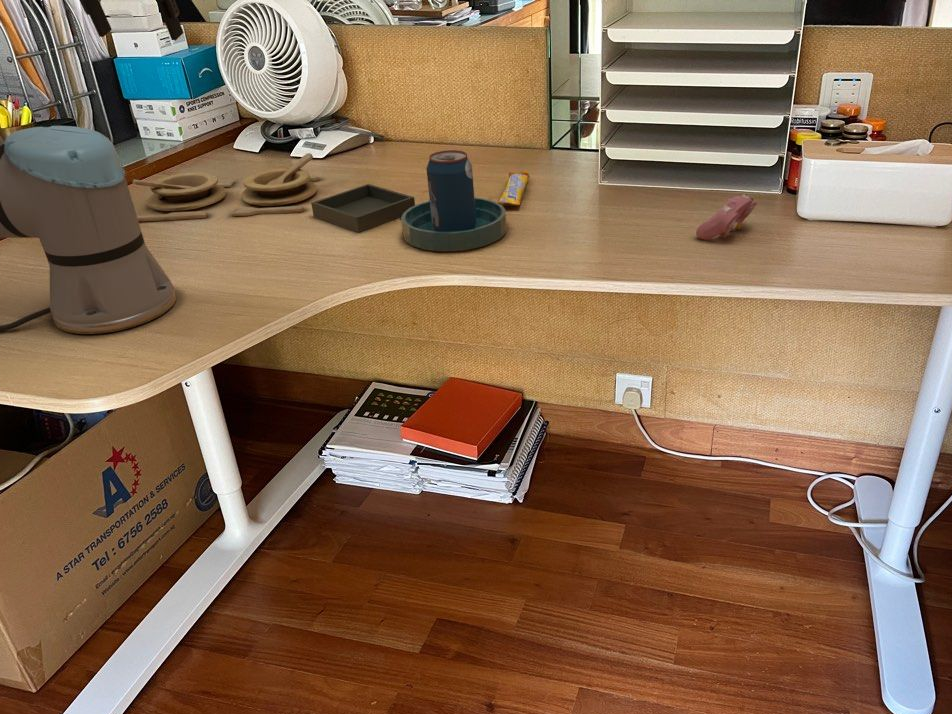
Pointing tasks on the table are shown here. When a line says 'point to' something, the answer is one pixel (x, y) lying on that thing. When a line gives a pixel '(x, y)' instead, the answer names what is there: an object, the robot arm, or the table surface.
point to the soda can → (451, 191)
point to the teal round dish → (425, 236)
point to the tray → (362, 207)
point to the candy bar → (514, 189)
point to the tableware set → (208, 189)
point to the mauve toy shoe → (727, 218)
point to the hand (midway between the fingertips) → (141, 35)
